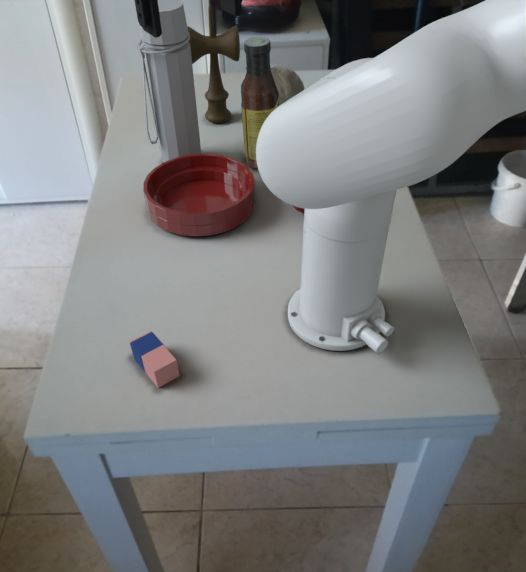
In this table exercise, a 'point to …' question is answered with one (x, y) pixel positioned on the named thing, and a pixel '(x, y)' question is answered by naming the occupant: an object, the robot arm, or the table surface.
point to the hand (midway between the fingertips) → (193, 22)
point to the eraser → (154, 359)
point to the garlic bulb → (286, 83)
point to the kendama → (215, 65)
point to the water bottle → (171, 83)
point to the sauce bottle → (256, 93)
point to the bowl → (199, 194)
